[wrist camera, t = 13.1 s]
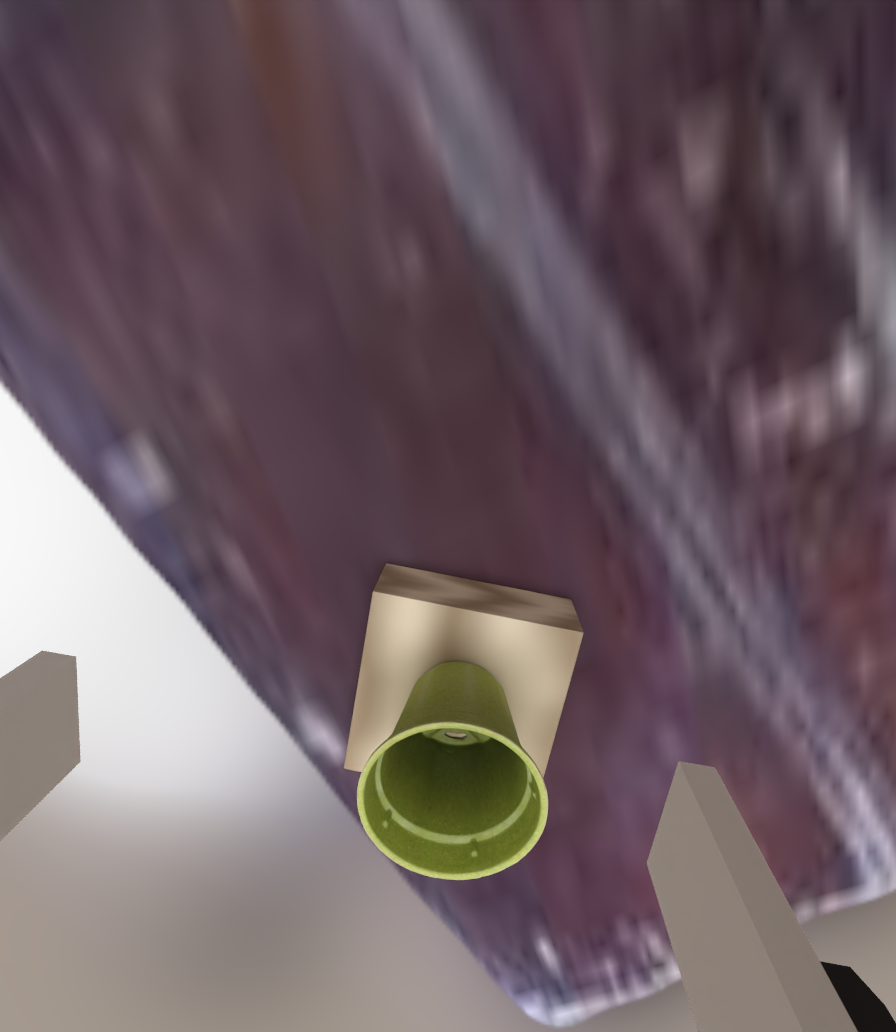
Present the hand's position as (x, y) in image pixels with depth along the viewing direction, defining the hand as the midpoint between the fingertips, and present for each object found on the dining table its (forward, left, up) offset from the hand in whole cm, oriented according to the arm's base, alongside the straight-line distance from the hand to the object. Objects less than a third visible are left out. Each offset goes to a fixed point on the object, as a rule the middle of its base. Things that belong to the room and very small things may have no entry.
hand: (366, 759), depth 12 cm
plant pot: (-4, +12, -22) cm, 25 cm away
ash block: (-4, +12, -27) cm, 29 cm away
